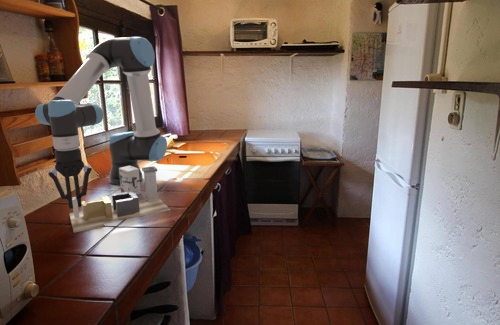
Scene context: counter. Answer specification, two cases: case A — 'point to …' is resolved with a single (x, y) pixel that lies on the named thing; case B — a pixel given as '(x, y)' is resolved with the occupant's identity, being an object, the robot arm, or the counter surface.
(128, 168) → the ink box
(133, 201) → the dark grey hollow housing
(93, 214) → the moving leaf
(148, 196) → the grey long block
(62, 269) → the counter surface
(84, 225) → the mounting board
